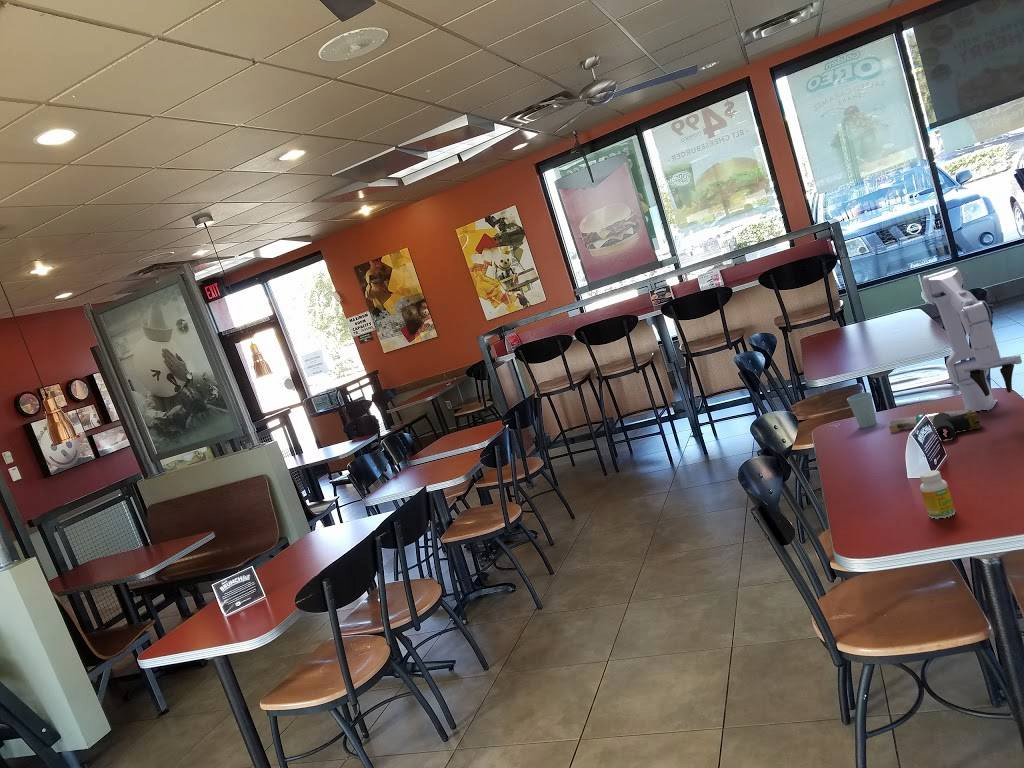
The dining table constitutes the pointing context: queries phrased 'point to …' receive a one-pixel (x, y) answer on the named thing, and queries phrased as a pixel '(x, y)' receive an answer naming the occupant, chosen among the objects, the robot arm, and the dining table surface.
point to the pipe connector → (955, 423)
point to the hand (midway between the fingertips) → (998, 393)
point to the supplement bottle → (936, 495)
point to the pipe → (912, 421)
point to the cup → (863, 409)
